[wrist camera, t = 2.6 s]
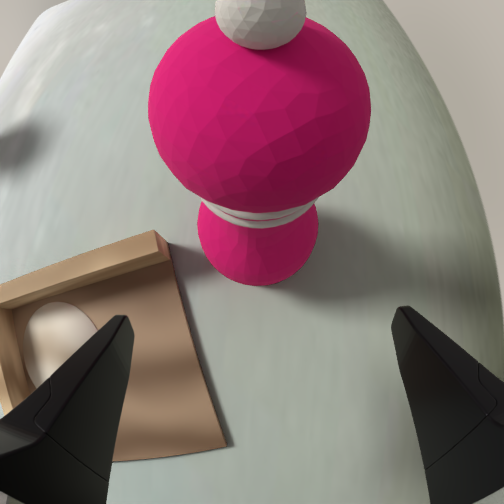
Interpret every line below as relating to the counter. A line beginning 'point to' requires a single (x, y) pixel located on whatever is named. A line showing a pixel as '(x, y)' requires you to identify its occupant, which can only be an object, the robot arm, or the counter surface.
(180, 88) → the pepper mill
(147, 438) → the brown flat rimmed piece
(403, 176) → the counter surface
